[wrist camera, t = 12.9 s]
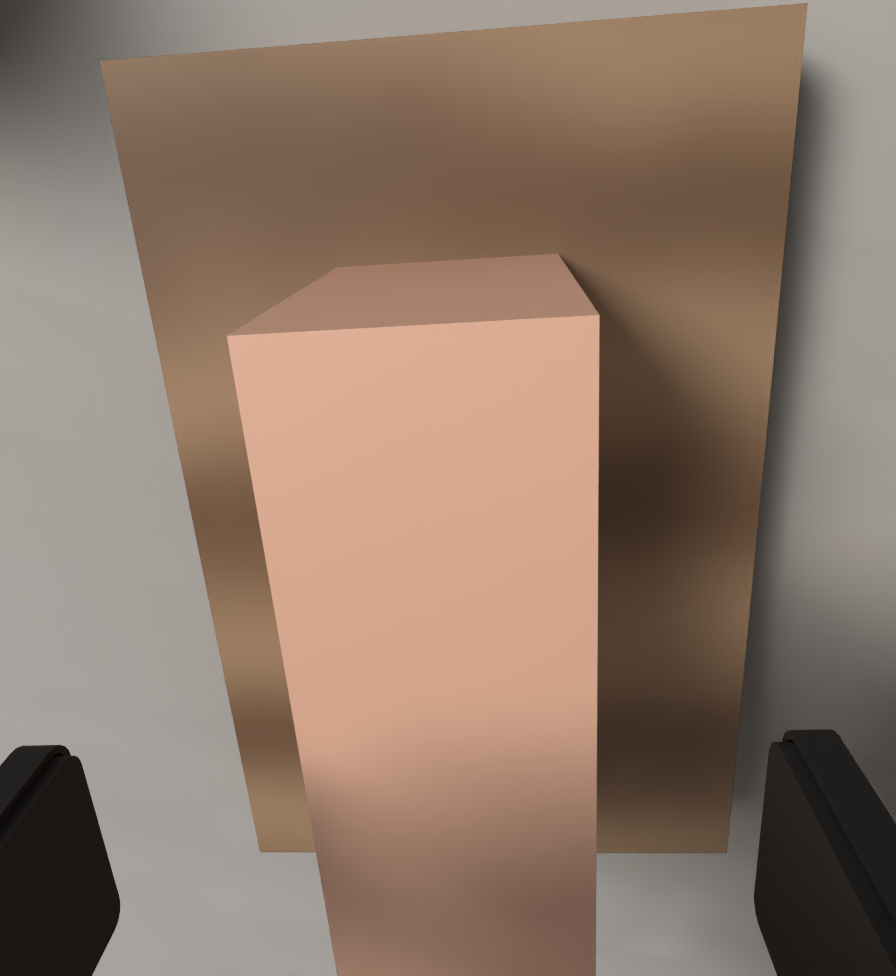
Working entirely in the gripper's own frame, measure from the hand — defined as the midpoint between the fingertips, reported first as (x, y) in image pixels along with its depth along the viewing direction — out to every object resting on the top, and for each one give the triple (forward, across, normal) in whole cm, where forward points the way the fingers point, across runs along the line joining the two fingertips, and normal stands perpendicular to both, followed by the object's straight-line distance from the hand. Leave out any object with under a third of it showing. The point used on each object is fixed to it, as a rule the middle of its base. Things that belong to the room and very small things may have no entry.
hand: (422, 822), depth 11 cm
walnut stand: (+11, 0, -1) cm, 11 cm away
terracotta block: (+8, 0, -1) cm, 8 cm away
